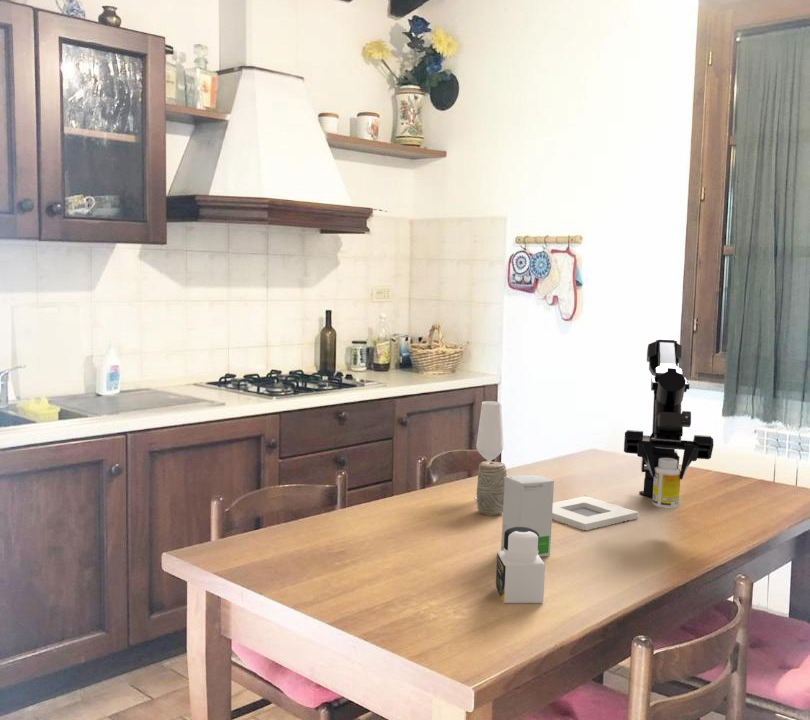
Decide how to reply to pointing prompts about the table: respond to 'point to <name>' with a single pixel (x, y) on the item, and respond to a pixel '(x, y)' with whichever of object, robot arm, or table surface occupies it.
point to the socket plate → (590, 513)
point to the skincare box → (529, 507)
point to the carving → (491, 487)
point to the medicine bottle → (520, 567)
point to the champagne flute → (490, 431)
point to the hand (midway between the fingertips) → (667, 477)
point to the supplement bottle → (666, 483)
